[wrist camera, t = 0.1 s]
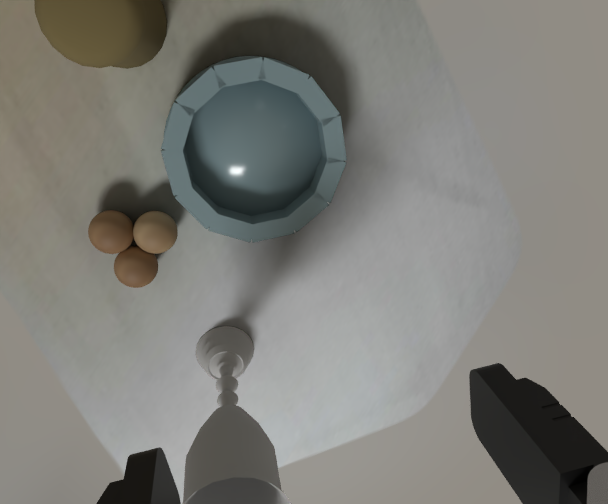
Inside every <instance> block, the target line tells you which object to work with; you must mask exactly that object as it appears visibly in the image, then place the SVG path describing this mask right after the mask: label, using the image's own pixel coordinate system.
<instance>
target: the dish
mask: <svg viewBox="0 0 608 504" xmlns="http://www.w3.org/2000/svg"><path fill="white" fill-rule="evenodd" d="M339 114H340V113H339V112H338V110H337V109H336V108H335V106H334V105H333V104H332V103H331V101H330V100H329V99H328V97H327V96H326V95H325V93H324V92H323V91H322V90H321V88H320V87H319V86H318V84H317V83H316V82H315V80H314V79H313V78H312V77H311V76H309V75H308V74H306V73H303V72H301V71H300V70H298V69H297V68H295V67H293V66H291V65H289V64H287V63H285V62H282V61H279V60H276V59H273V58H267V57H262V56H239V57H233V58H229V59H225V60H222V61H220V62H217V63H215V64H212V65H211V66H209V67H207V68H205V69H204V70H202V71H201V72H199V73H198V74H197V75H196V76H194V77H193V78H192V79H191V80H190V81H189V82H188V83H187V84H186V85H185V87H184V88H183V89H182V91H181V92H180V93H179V95H178V96H177V98H176V100H175V101H174V104H173V106H172V108H171V110H170V113H169V115H168V118H167V121H166V126H165V131H164V140H163V143H162V147H161V149H162V150H161V153H162V156H163V160H164V163H165V167H166V171H167V174H168V178H169V181H170V185H171V189H172V192H173V196H175V199H176V200H177V201H178V202H179V203H180V204H181V205H182V206H183V207H184V208H185V209H186V210H187V211H188V212H189V213H190V214H191V215H192V216H193V217H195V218H196V219H197V220H198V221H199V222H200V223H201V224H202V225H203V226H204V227H205V228H206V229H208V228H209V231H212V232H215V233H219V234H222V235H226V236H229V237H233V238H236V239H240V240H243V241H247V242H251V239H252V242H258V241H262V240H267V239H271V238H276V237H281V236H285V235H290V234H294V230H295V231H296V232H298V231H299V230H300V229H301V228H302V227H304V226H305V225H306V224H307V223H308V222H309V221H311V220H312V219H313V218H314V217H315V216H317V215H318V214H319V213H320V212H321V211H322V210H324V209H325V208H326V207H327V206H328V205H329V204H328V203H327V202H329V203H331V200H332V198H333V195H334V193H335V190H336V188H337V185H338V182H339V180H340V177H341V175H342V172H343V170H344V167H345V165H346V162H345V160H347V159H346V152H345V144H344V137H343V129H342V121H341V116H340V115H339Z"/></svg>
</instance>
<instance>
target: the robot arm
mask: <svg viewBox="0 0 608 504" xmlns="http://www.w3.org/2000/svg"><path fill="white" fill-rule="evenodd" d="M470 399H471V418H472V423H473V426H474V429H475V432H476V434H477V436H478V438H479V440H480V441H481V443H482V444H483V446H484V447H485V449H486V450H487V452H488V453H489V455H490V456H491V457H492V459H493V461H495V463H496V465H497V466H498V468H499V469H500V471H501V472H502V474H503V475H504V477H505V478H506V480H507V481H508V482H509V484H510V485H511V487H512V488H513V490H514V491H515V493H516V494H517V495H518V497H519V499H520V500H521V502H522V503H523V504H608V452H607V451H606V450H605V449H604V448H603V447H602V446H601V445H600V444H599V443H598V442H597V441H596V440H595V439H594V437H592V436H591V434H590V433H589V432H588V431H587V430H586V429H585V428H583V426H582V425H581V424H580V423H579V422H578V421H577V420H576V419H575V418H574V417H571V414H570V413H569V412H568V411H567V410H566V409H565V408H564V407H563V406H562V405H560V404H559V402H558V401H557V400H556V399H555V398H554V397H553V396H552V394H550V392H549V391H547V389H545V388H544V387H542V386H540V385H538V384H537V383H535V382H533V381H531V380H529V379H527V378H522V379H519V380H516V379H515V378H514V377H513V376H512V375H511V374H510V373H509V372H508V370H507V369H506V368H505V367H504V366H503V365H502V364H499V363H497V364H493V365H490V366H485V367H482V368H477V369H473V370H471V371H470ZM97 504H181V503H180V498H179V494H178V490H177V487H176V485H175V482H174V479H173V476H172V474H171V471H170V468H169V465H168V462H167V460H166V457H165V454H164V452H163V450H162V448H156V449H152V450H148V451H144V452H140V453H136V454H132V455H130V456H129V457H128V460H127V465H126V470H125V476H124V479H123V480H119V481H115V482H112V483H110V484H109V485H108V487H107V488H106V490H105V491H104V493H103V494H102V496H101V497H100V499H99V500H98V502H97Z"/></svg>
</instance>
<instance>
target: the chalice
mask: <svg viewBox="0 0 608 504" xmlns="http://www.w3.org/2000/svg"><path fill="white" fill-rule="evenodd" d="M253 352H254V347H253V342H252V340H251V339H250V337H249V336H248V335H247V334H246V333H245V332H244V331H242V330H241V329H238V328H235V327H230V326H222V327H217V328H214V329H212V330H210V331H208V332H206V333H205V334H204V335H203V336H202V337H201V338H200V340H199V342H198V344H197V347H196V357H197V361H198V363H199V364H200V365H201V367H202V368H203V369H204V370H205V372H206V373H207V374H208V375H209V376H210V377H212V378H213V379H215V380H217V382H216V389H217V390H218V392H220V393H221V394H220V395H219V396H218V399H217V402H218V405H219V406H220V408H218V409H216V410H215V411H214V412H213V414H212V415H211V416H210V417H209V419H208V420H207V421H206V422H205V423H204V425H203V426H202V427H201V428H200V430H199V432H198V434H197V436H196V438H195V440H194V442H193V444H192V446H191V448H190V450H189V452H188V454H187V456H186V464H185V479H184V497H183V504H291V502H290V501H289V499H288V498H287V496H286V495H285V493H284V492H283V491H282V490H281V485H280V479H279V473H278V466H277V460H276V455H275V449H274V446H273V444H272V443H271V441H270V440H269V438H268V436H267V435H266V434H265V432H264V431H263V429H262V428H261V426H260V425H259V423H258V422H257V421H255V420H254V419H253V418H252V417H251V416H250V415H249V414H248V413H247V412H246V411H244V410H243V409H242V408H241V407H239V406H236V404H237V402H238V396H237V395H236V393H234V391H235V390H236V389H237V387H238V382H237V380H236V378H238V377H239V376H240V375H241V374H243V373H244V371H245V369H246V368H247V366H248V364H249V363H250V361H251V359H252V357H253Z"/></svg>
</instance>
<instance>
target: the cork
mask: <svg viewBox="0 0 608 504" xmlns="http://www.w3.org/2000/svg"><path fill="white" fill-rule="evenodd" d="M35 14H36V17H37V20H38V23H39V25H40V28H41V31H42V32H43V34H44V35H45V36H46V38H47V39H48V41H49V42H50V44H51V45H52V46H53V47H54V48H55V49H56V50H57V51H58V52H60V53H61V54H62V55H63V56H64V57H66V58H67V59H69V60H71V61H74V62H76V63H78V64H80V65H82V66H88V67H96V68H102V67H107V66H113V67H120V68H133V67H138V66H142V65H143V64H145V63H147V62H148V61H150V60H152V59H153V58H154V57H155V56H156V54H157V53H158V52H159V51H160V49H161V48H162V45H163V43H164V40H165V37H166V30H167V18H166V14H165V11H164V7H163V4H162V2H161V0H35Z"/></svg>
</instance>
